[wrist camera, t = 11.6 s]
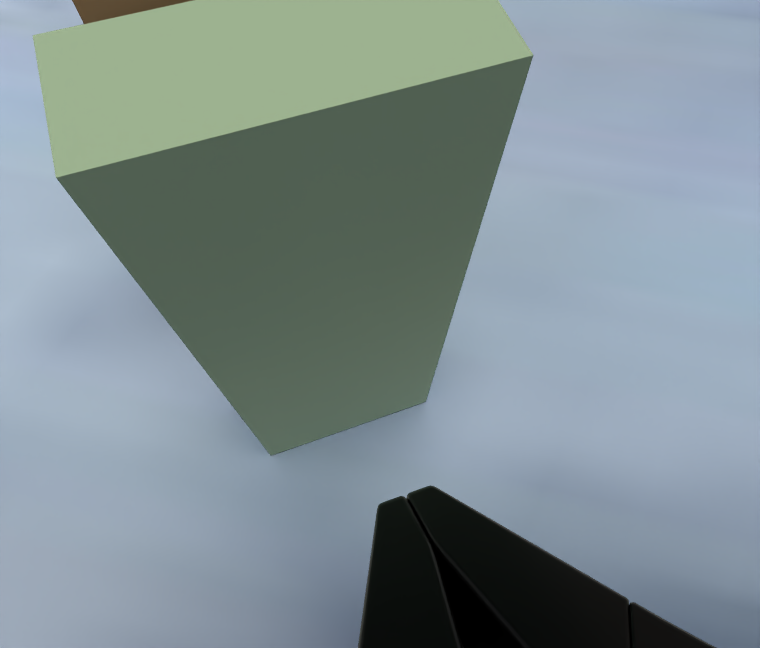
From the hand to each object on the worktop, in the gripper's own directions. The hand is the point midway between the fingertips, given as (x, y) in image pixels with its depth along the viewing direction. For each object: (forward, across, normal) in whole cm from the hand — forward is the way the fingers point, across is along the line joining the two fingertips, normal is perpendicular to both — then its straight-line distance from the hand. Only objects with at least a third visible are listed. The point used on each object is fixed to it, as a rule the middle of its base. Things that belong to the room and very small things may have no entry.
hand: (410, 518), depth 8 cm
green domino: (+9, 0, +3) cm, 10 cm away
